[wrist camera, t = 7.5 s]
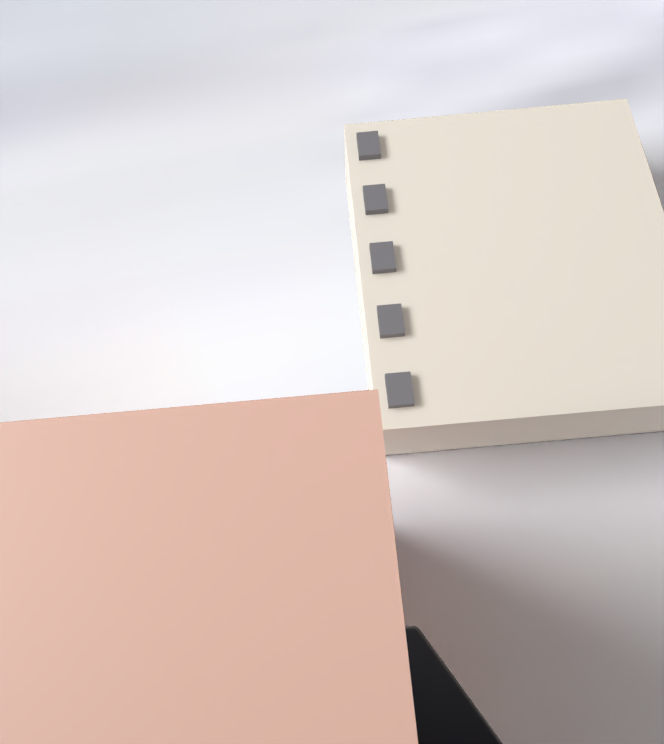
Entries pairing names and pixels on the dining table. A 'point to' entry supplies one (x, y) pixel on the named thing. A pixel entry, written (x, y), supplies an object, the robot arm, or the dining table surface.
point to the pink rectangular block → (202, 577)
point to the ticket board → (508, 275)
